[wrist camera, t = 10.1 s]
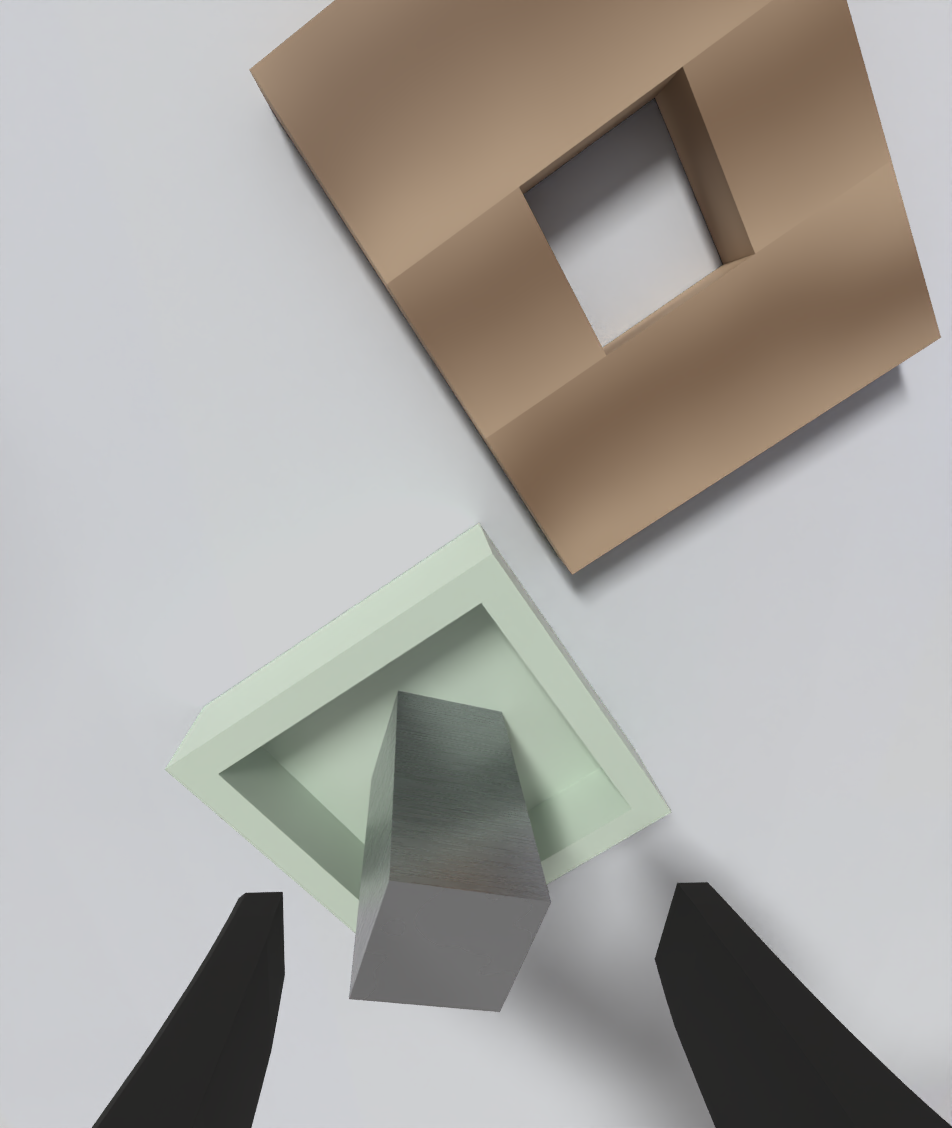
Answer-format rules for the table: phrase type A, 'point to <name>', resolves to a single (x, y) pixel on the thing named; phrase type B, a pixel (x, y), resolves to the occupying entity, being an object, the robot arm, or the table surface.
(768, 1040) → the robot arm
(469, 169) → the tan flat square frame
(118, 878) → the table surface
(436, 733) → the pin
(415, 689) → the tray
